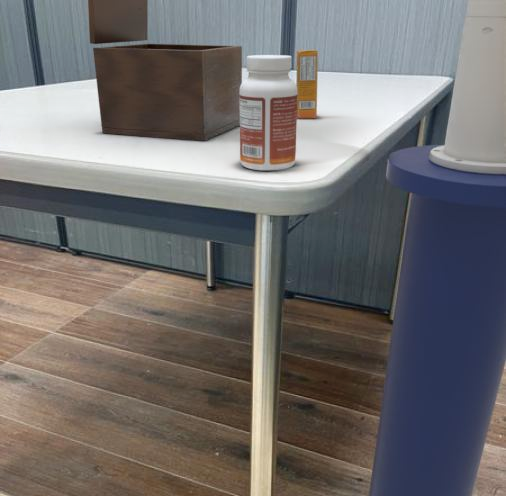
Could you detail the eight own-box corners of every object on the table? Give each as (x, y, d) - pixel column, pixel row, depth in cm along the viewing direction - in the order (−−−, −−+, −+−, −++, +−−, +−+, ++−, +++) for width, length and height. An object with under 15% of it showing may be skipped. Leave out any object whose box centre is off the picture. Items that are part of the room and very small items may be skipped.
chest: (242, 124, 90) (241, 46, 85) (204, 141, 78) (201, 50, 73) (150, 118, 95) (145, 43, 89) (102, 133, 82) (92, 47, 77)
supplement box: (293, 115, 98) (296, 49, 94) (314, 115, 99) (317, 49, 94) (295, 118, 96) (298, 50, 91) (316, 118, 96) (320, 50, 91)
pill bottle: (293, 159, 68) (298, 54, 63) (296, 172, 63) (301, 58, 58) (240, 159, 69) (240, 53, 63) (238, 171, 63) (238, 57, 58)
